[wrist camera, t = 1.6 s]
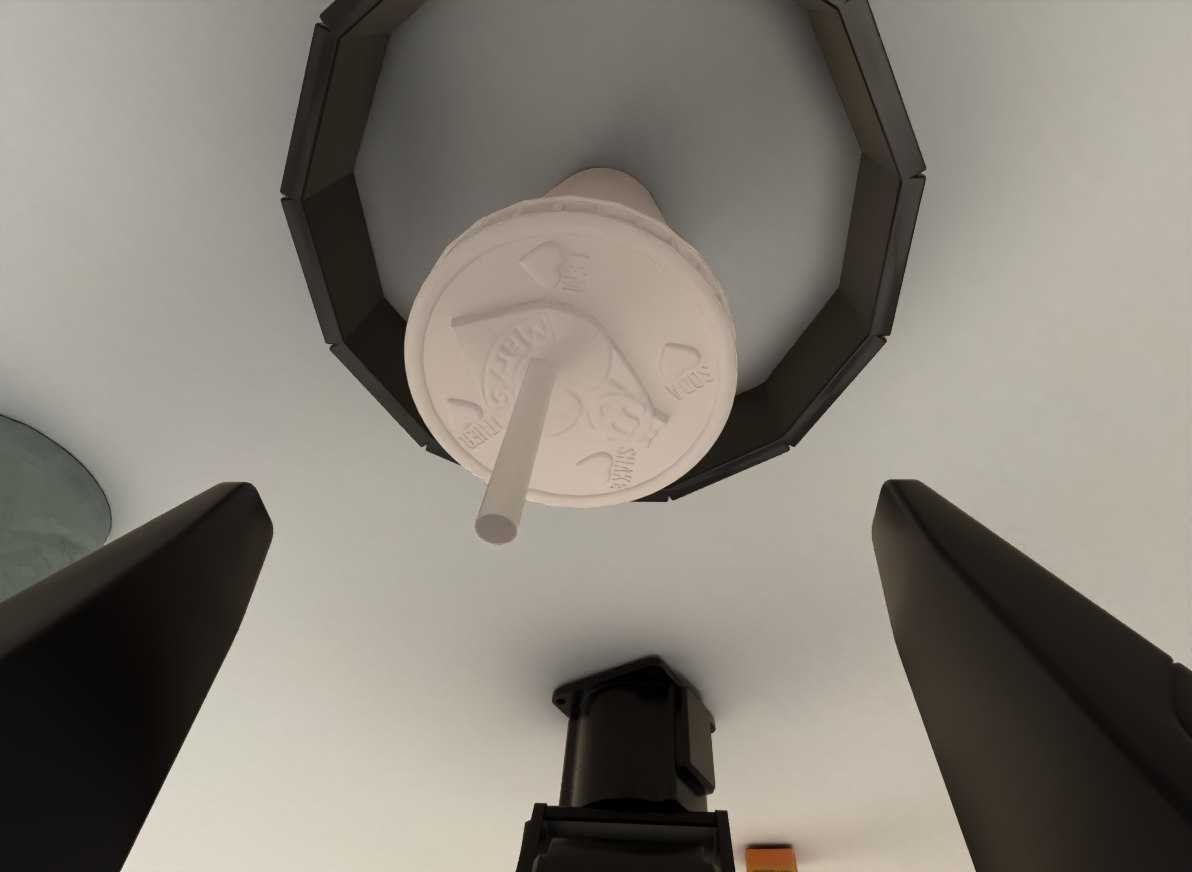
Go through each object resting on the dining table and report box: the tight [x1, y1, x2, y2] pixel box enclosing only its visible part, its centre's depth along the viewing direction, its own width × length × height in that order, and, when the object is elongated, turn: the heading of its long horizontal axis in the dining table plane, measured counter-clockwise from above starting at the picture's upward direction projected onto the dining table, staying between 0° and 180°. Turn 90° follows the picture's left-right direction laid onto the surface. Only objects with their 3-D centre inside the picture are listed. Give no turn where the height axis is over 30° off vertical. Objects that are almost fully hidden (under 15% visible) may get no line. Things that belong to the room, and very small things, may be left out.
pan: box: [280, 0, 926, 502], centre depth 16 cm, size 16×27×4 cm, turn 33°
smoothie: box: [404, 168, 737, 545], centre depth 14 cm, size 6×6×14 cm
